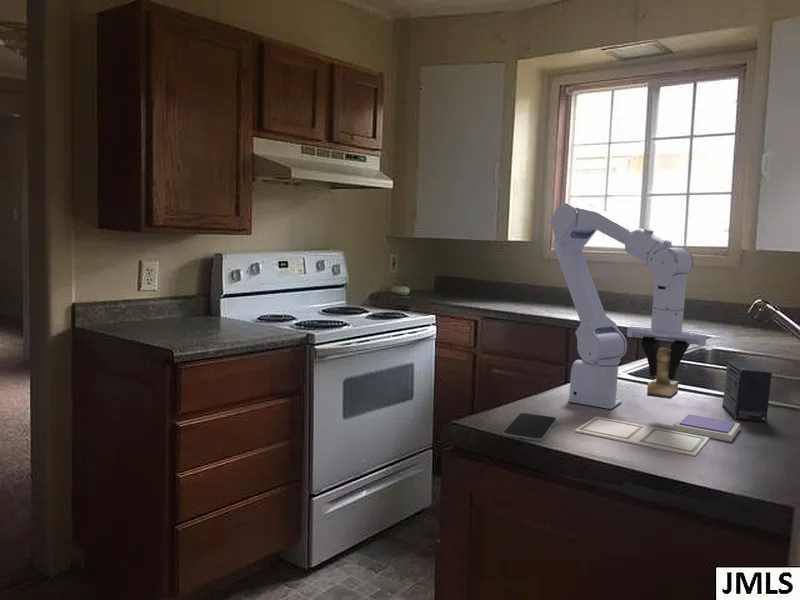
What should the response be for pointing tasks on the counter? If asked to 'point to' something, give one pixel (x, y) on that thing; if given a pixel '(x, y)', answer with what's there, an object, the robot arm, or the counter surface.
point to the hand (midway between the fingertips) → (662, 376)
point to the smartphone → (530, 426)
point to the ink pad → (707, 427)
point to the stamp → (663, 377)
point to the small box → (746, 391)
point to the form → (644, 435)
